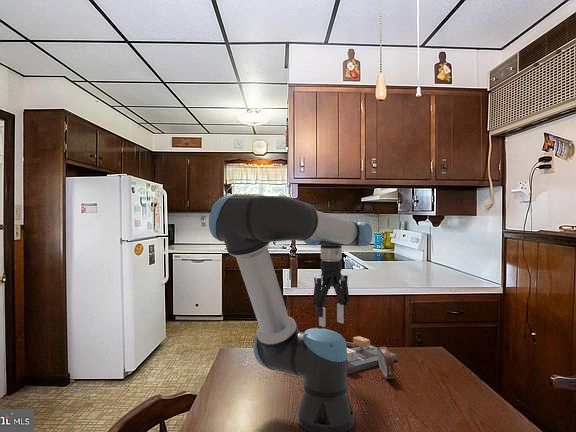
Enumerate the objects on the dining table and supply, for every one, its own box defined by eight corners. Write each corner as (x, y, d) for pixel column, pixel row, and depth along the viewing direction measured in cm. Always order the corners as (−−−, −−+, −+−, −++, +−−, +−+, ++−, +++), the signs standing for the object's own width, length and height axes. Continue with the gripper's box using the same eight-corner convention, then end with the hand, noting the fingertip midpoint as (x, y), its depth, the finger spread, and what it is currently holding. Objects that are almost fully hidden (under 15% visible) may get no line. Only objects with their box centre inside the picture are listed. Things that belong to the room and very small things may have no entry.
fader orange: (363, 352, 148) (363, 341, 148) (352, 348, 153) (352, 337, 153) (370, 351, 150) (370, 339, 150) (359, 346, 155) (359, 335, 155)
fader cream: (348, 365, 134) (348, 353, 134) (337, 360, 139) (337, 348, 140) (356, 363, 136) (355, 351, 136) (344, 358, 141) (344, 346, 141)
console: (336, 377, 130) (336, 369, 130) (311, 363, 143) (311, 356, 143) (396, 359, 146) (396, 353, 146) (368, 349, 159) (368, 342, 159)
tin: (395, 383, 125) (395, 357, 125) (385, 383, 125) (385, 357, 125) (385, 366, 140) (384, 343, 140) (376, 366, 140) (376, 343, 140)
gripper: (314, 262, 126) (314, 331, 126) (359, 259, 137) (360, 322, 137) (301, 260, 132) (301, 326, 132) (345, 257, 143) (346, 318, 143)
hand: (331, 324), depth 134 cm, fingers open, 8 cm apart
